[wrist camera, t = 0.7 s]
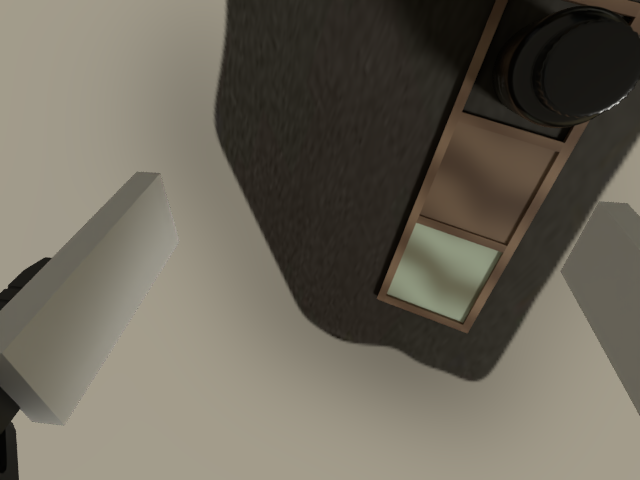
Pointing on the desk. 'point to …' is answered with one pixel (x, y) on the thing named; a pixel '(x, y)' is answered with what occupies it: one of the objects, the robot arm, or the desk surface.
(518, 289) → the desk surface
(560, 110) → the supplement bottle
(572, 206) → the desk surface
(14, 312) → the robot arm
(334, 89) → the desk surface
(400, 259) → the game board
